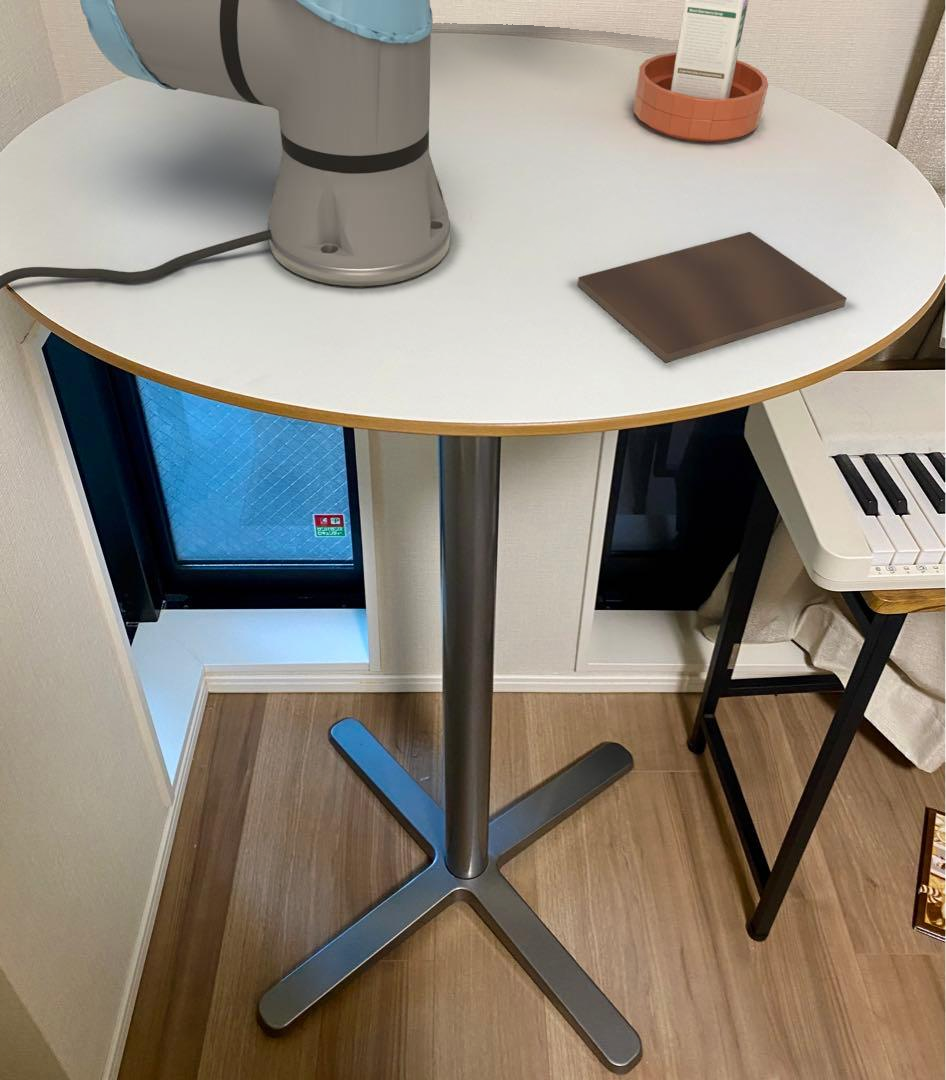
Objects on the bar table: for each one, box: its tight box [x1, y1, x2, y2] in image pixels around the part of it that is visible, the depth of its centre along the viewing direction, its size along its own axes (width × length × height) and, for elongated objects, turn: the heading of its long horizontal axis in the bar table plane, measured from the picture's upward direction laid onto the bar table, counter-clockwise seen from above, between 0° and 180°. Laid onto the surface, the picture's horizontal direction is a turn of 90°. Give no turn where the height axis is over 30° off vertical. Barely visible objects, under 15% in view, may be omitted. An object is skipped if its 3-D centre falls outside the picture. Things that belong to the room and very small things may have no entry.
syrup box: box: [670, 0, 749, 99], centre depth 100 cm, size 6×6×14 cm
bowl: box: [633, 52, 769, 143], centre depth 104 cm, size 13×13×4 cm
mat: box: [577, 231, 847, 363], centre depth 80 cm, size 18×12×1 cm, turn 119°
